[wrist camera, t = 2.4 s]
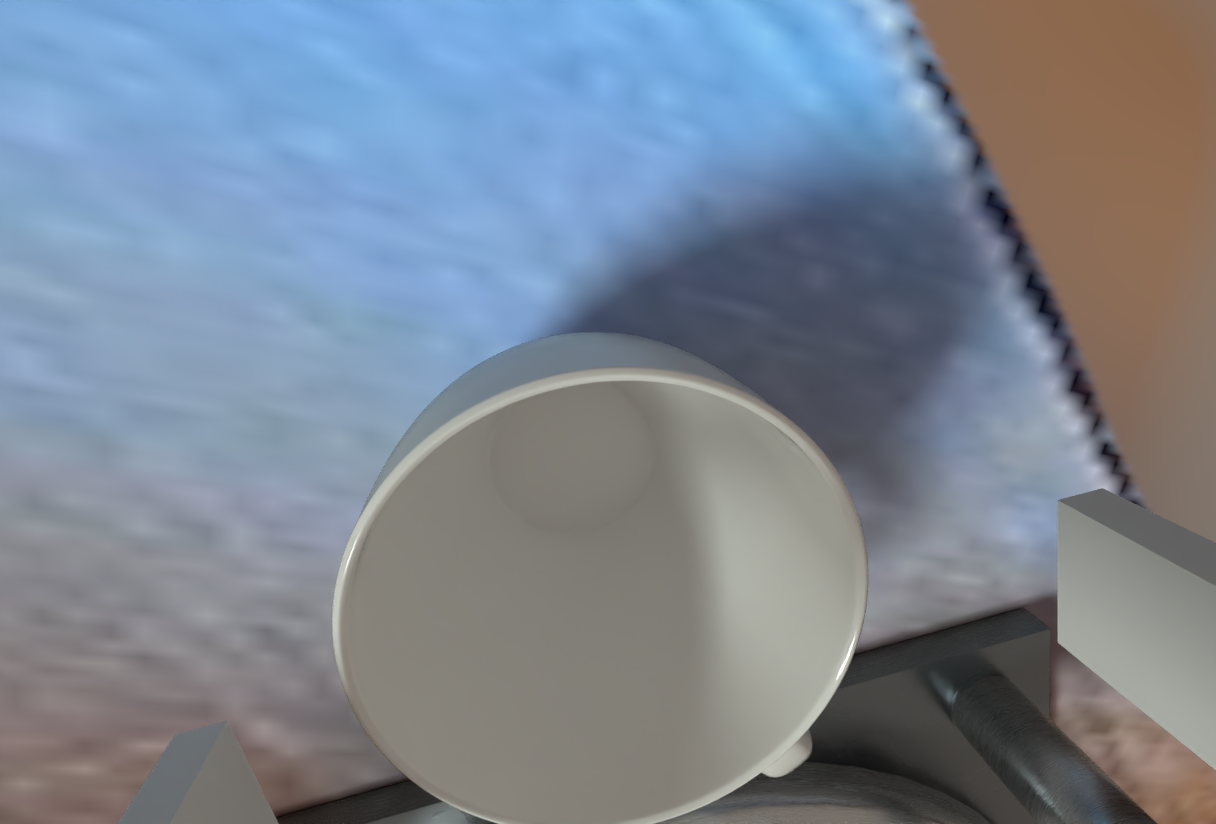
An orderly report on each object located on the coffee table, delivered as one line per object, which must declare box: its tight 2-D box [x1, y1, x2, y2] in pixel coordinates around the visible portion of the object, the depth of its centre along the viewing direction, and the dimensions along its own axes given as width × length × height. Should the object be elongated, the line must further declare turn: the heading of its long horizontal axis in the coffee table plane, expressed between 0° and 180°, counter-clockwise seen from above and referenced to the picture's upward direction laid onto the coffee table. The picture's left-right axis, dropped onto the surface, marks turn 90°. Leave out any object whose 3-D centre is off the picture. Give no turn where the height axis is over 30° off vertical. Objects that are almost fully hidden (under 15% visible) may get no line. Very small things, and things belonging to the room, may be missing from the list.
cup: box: [332, 332, 868, 824], centre depth 13 cm, size 8×10×7 cm
